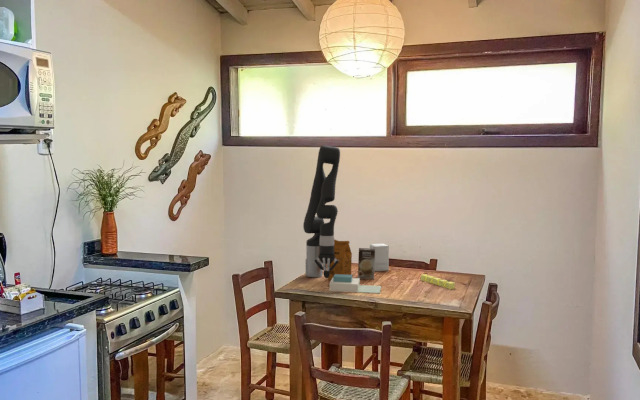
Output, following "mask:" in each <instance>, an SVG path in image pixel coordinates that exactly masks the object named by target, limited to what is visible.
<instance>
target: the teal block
mask: <svg viewBox="0 0 640 400" xmlns="http://www.w3.org/2000/svg"><path fill="white" fill-rule="evenodd" d="M352 278H353V274H351V275H344V274H335V275H334V277H333V282H352Z"/></svg>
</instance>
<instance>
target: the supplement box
mask: <svg viewBox="0 0 640 400" xmlns="http://www.w3.org/2000/svg"><path fill="white" fill-rule="evenodd" d="M369 248H370V249H375V266H374V272H383V271H384V272H385V271H387V272H388V271H389V270H390V269H389V266H390V265H389V263H390V262H389V259H390V257H389V253H390V247H389V245H388V244H386V243H369Z"/></svg>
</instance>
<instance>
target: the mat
mask: <svg viewBox="0 0 640 400" xmlns="http://www.w3.org/2000/svg"><path fill="white" fill-rule="evenodd" d="M381 290H382V285H367V284H360V286H359V289H358V292H357V293H359V294H361V293H362V294H376V295H377V294H378V295H379V294H381Z"/></svg>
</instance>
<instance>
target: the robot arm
mask: <svg viewBox="0 0 640 400" xmlns="http://www.w3.org/2000/svg"><path fill="white" fill-rule="evenodd" d="M340 159H341V149H340V148H339V147H336V146H330V145H325V144H324V145H320V147H319V150H318V156H317V160H316V167H315V168H316V169H315V175H314V179H313V183H312V188H311V191H310V198H309V203H308V207H307V210H306V213H305V216H304V220H303V225H302V226H303V231H304V233H306V234H308V235H309V234H313V235H312V237H310V238H308V239H307V240H306V249H305V251H306V252H305V253H306V256H305V277H310V278H320V277H324V278H325V279H328V277H329V276H330V270H333V268H334V267H335V266H336V265H337V263H338V262H339V260H337V259H336V258H335V255H334V244H335V242H334V239H335V223H336V219H337V216H338V212H339V211H338V208H337V206H336V205H335V204H327V203H332V202H334V200H336V199H335V198H336V197H335V196H336V183H337V177H338V172H339V166H340ZM324 164H326V165H327V164H328V165H332V167H331V170H330V171H329V173H328V174H327V176H326V173H325V170H324ZM326 219H327V220H329V219H330V220H329V221H328V222H325V221H324V220H326ZM333 260H334V264H333V266H332V267H330V264H331V263H332V262H333Z"/></svg>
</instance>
